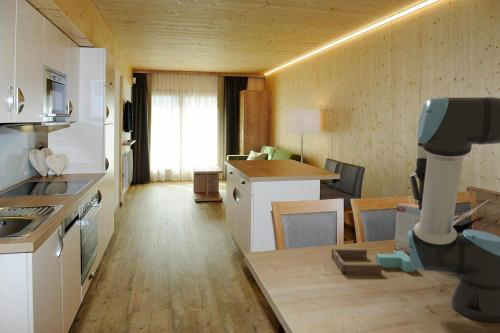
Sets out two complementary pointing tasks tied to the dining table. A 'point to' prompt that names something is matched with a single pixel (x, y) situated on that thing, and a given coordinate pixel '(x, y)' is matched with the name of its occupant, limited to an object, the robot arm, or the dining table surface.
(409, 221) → the cracker box
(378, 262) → the t block
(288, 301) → the dining table surface
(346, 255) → the nest
